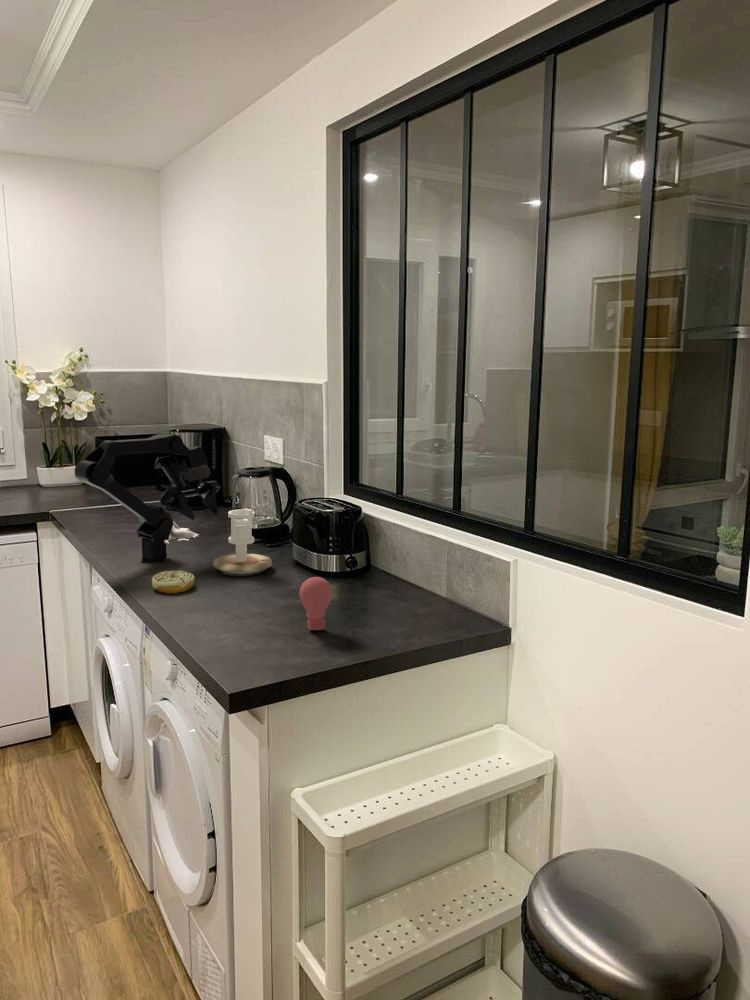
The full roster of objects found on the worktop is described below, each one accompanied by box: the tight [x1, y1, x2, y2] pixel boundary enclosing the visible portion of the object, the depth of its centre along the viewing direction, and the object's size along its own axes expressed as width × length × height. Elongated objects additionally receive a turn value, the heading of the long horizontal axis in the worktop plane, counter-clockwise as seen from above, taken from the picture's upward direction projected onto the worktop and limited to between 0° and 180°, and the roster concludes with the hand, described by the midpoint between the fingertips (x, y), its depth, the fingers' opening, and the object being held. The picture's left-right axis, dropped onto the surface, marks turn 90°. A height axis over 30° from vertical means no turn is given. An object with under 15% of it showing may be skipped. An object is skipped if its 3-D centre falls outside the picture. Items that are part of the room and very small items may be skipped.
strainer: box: [228, 507, 255, 562], centre depth 207 cm, size 7×7×15 cm
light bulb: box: [299, 576, 333, 631], centre depth 163 cm, size 7×7×12 cm
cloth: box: [165, 520, 199, 544], centre depth 246 cm, size 22×19×6 cm
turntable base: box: [220, 569, 265, 577], centre depth 209 cm, size 12×12×2 cm
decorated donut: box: [151, 570, 196, 594], centre depth 191 cm, size 10×11×4 cm
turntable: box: [212, 553, 273, 572], centre depth 209 cm, size 16×16×1 cm
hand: (205, 516), depth 213 cm, fingers open, 9 cm apart
